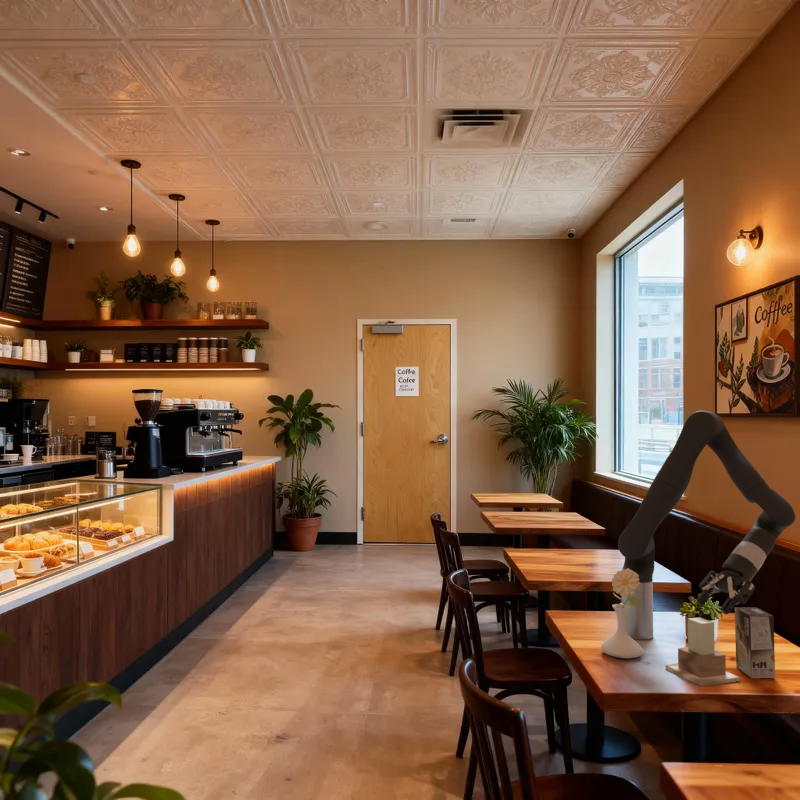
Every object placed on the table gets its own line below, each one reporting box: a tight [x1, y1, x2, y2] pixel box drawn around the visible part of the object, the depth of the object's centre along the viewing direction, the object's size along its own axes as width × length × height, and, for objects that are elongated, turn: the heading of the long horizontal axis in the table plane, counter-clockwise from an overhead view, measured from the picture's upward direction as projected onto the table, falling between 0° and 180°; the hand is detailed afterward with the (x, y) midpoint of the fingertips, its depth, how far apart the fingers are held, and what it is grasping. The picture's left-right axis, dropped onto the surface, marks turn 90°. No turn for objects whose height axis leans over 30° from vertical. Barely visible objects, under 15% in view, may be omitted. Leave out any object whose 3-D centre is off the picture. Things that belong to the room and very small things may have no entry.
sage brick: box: [687, 616, 716, 655], centre depth 174 cm, size 5×4×8 cm
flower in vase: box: [600, 568, 644, 659], centre depth 188 cm, size 13×11×25 cm
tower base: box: [665, 646, 741, 687], centre depth 173 cm, size 13×12×6 cm
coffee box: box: [734, 606, 776, 680], centre depth 175 cm, size 9×6×16 cm
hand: (711, 607), depth 175 cm, fingers open, 8 cm apart
